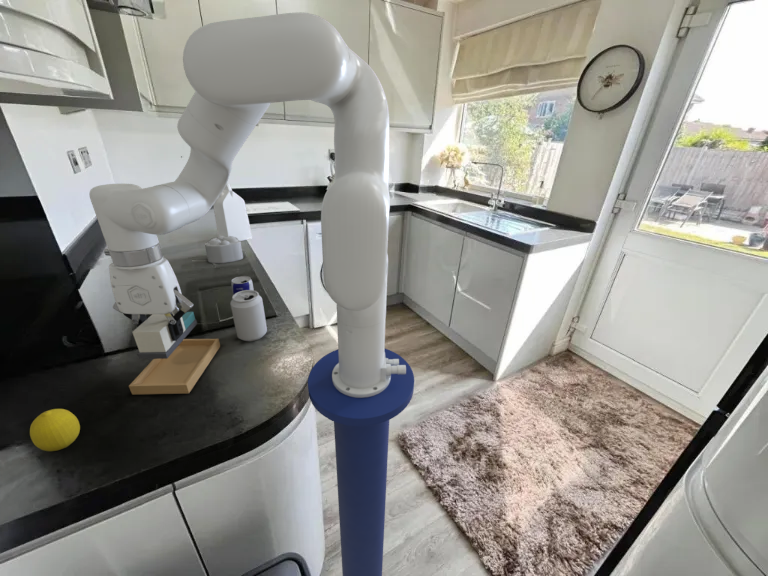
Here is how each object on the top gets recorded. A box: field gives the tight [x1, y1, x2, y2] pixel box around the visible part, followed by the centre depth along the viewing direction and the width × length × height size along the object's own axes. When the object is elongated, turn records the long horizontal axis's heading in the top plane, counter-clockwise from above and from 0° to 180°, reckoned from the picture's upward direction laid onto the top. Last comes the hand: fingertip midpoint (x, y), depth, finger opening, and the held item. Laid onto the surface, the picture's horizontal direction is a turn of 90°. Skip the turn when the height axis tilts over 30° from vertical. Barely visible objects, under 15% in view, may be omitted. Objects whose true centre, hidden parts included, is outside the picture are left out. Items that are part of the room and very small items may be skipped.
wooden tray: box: [128, 338, 221, 395], centre depth 73 cm, size 11×16×2 cm
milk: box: [212, 183, 253, 242], centre depth 154 cm, size 12×12×26 cm
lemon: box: [29, 408, 81, 452], centre depth 53 cm, size 6×6×8 cm
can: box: [229, 290, 268, 342], centre depth 83 cm, size 8×8×12 cm
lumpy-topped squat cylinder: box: [204, 235, 244, 264], centre depth 133 cm, size 10×13×9 cm
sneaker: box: [131, 311, 198, 360], centre depth 68 cm, size 13×5×6 cm, turn 4°
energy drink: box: [230, 275, 255, 296], centre depth 91 cm, size 5×5×12 cm
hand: (163, 336), depth 67 cm, fingers closed on sneaker, 5 cm apart
